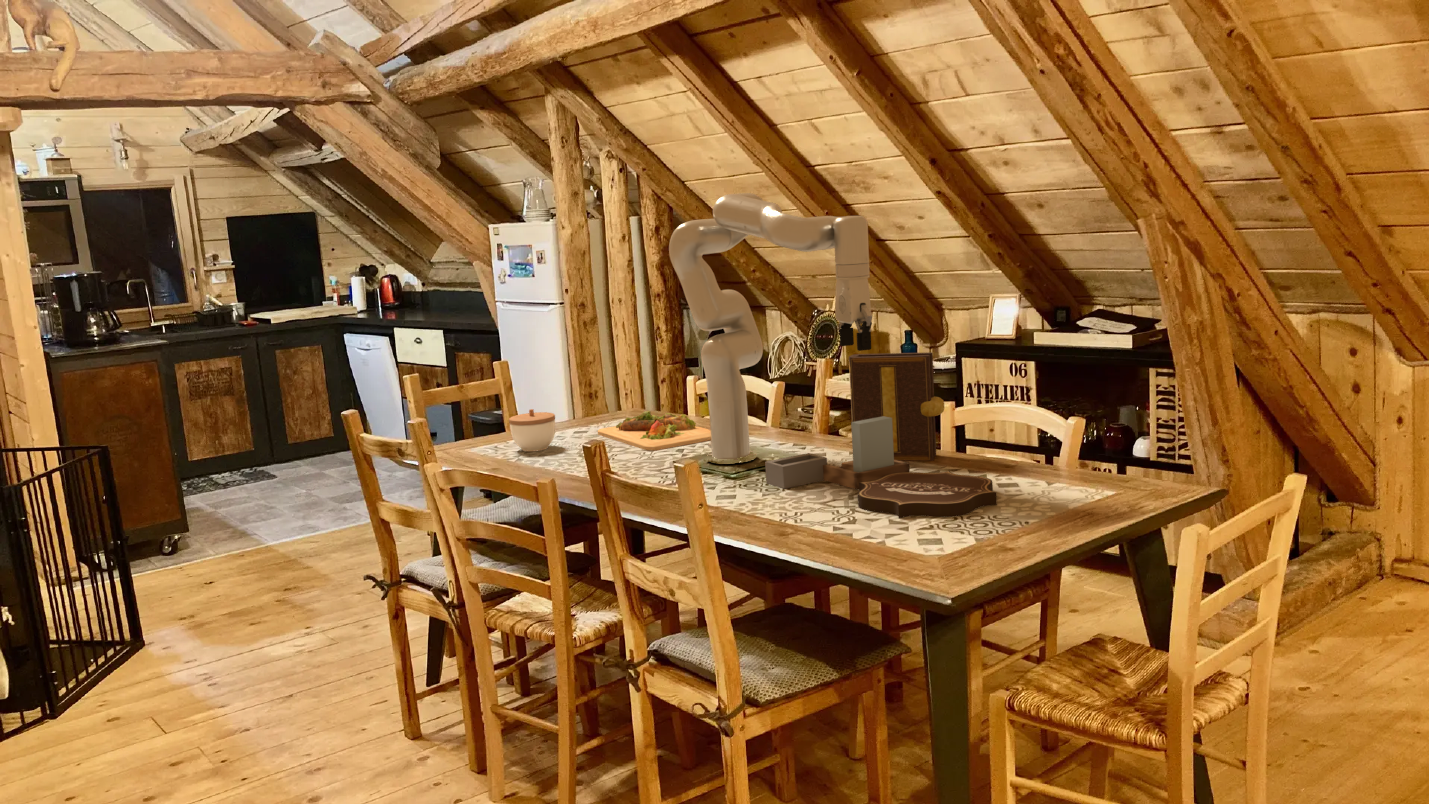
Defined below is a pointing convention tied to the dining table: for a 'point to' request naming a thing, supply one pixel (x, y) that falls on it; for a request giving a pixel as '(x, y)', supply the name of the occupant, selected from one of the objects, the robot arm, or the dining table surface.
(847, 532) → the dining table surface
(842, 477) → the square wooden tray
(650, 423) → the cutting board
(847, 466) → the offcut top
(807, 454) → the holder
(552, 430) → the lidded bowl
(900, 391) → the book
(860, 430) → the panel
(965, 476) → the decorative plaque
